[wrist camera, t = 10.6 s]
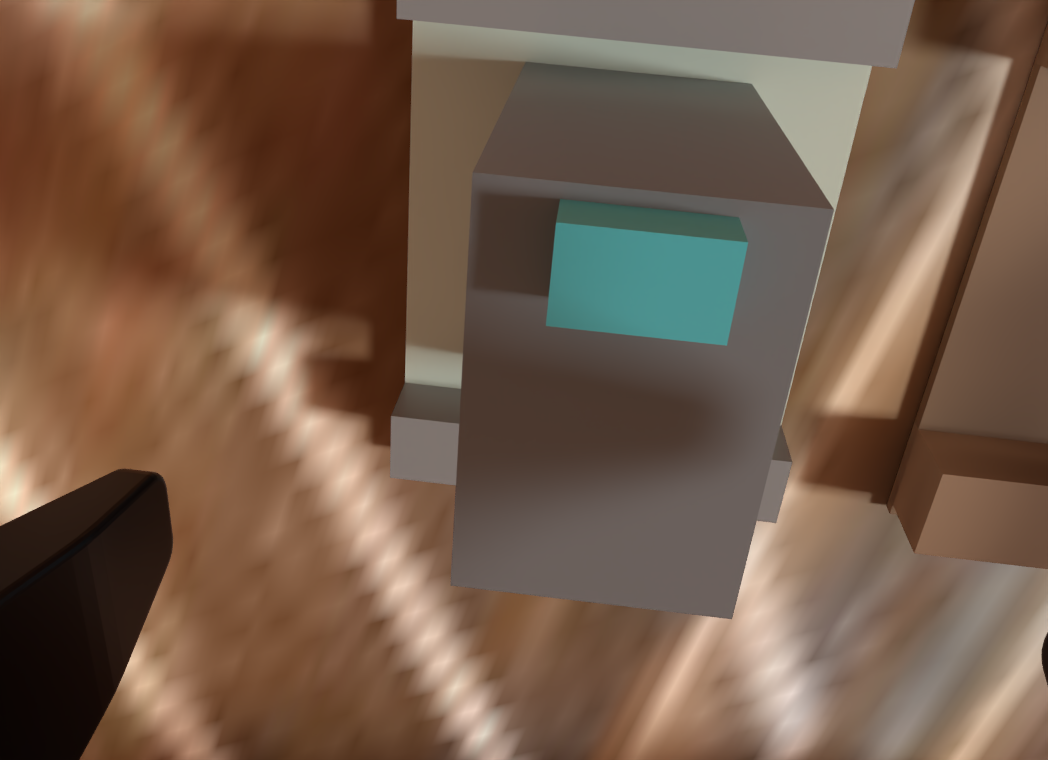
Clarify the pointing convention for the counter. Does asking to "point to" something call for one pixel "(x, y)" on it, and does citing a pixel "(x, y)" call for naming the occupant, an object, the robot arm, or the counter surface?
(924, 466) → the walnut dock
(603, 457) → the plug
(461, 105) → the cradle
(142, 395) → the counter surface
